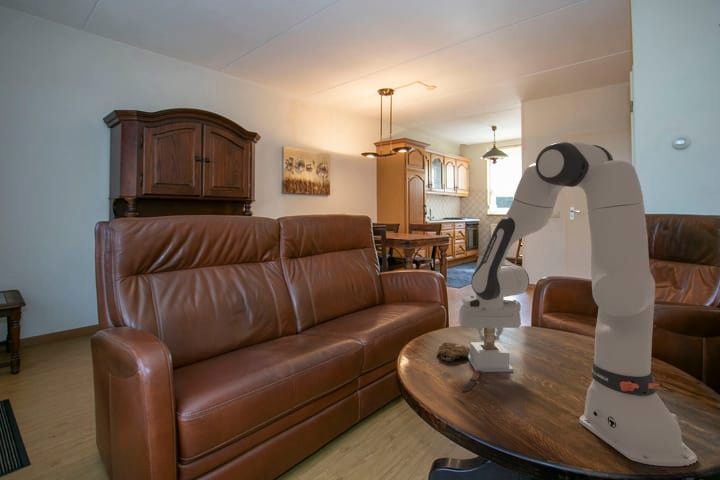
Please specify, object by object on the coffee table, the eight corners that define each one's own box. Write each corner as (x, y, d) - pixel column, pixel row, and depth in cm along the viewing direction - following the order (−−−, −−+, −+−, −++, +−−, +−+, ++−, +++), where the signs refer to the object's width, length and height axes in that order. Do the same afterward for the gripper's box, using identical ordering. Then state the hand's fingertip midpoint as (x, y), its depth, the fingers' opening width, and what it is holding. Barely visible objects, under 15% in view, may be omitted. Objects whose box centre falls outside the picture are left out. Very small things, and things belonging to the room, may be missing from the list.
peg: (495, 359, 123) (496, 324, 123) (485, 359, 123) (485, 324, 123) (492, 355, 127) (492, 321, 126) (482, 355, 127) (482, 321, 126)
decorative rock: (467, 367, 124) (470, 353, 138) (468, 356, 124) (471, 343, 138) (434, 361, 128) (439, 348, 142) (434, 350, 128) (440, 338, 142)
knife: (472, 392, 104) (461, 390, 105) (472, 396, 104) (461, 394, 105) (485, 371, 118) (475, 369, 119) (485, 374, 118) (475, 372, 120)
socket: (513, 371, 119) (513, 353, 119) (476, 371, 119) (476, 353, 119) (500, 357, 131) (500, 341, 131) (466, 357, 131) (466, 341, 131)
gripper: (516, 297, 127) (516, 336, 127) (457, 298, 127) (457, 337, 128) (524, 302, 120) (523, 343, 121) (462, 302, 121) (462, 343, 122)
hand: (489, 339), depth 125 cm, fingers closed on peg, 3 cm apart
